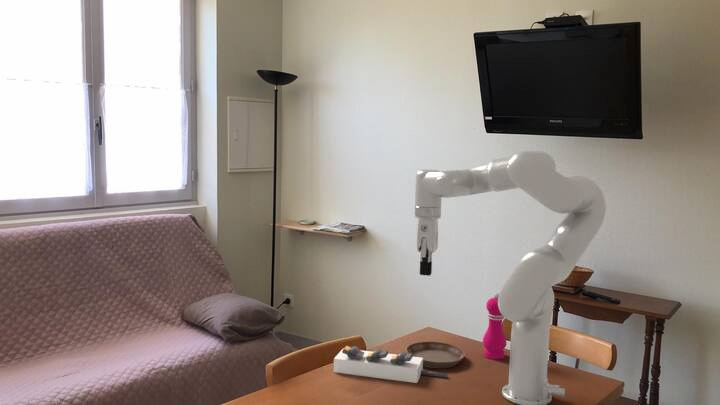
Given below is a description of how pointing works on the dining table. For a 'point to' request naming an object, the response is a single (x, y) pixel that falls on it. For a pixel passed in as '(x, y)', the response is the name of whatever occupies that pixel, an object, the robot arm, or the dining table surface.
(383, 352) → the switch middle
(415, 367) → the power strip
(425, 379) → the dining table surface
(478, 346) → the dining table surface
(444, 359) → the plant saucer
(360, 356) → the switch
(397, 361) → the switch
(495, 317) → the pepper mill
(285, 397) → the dining table surface
